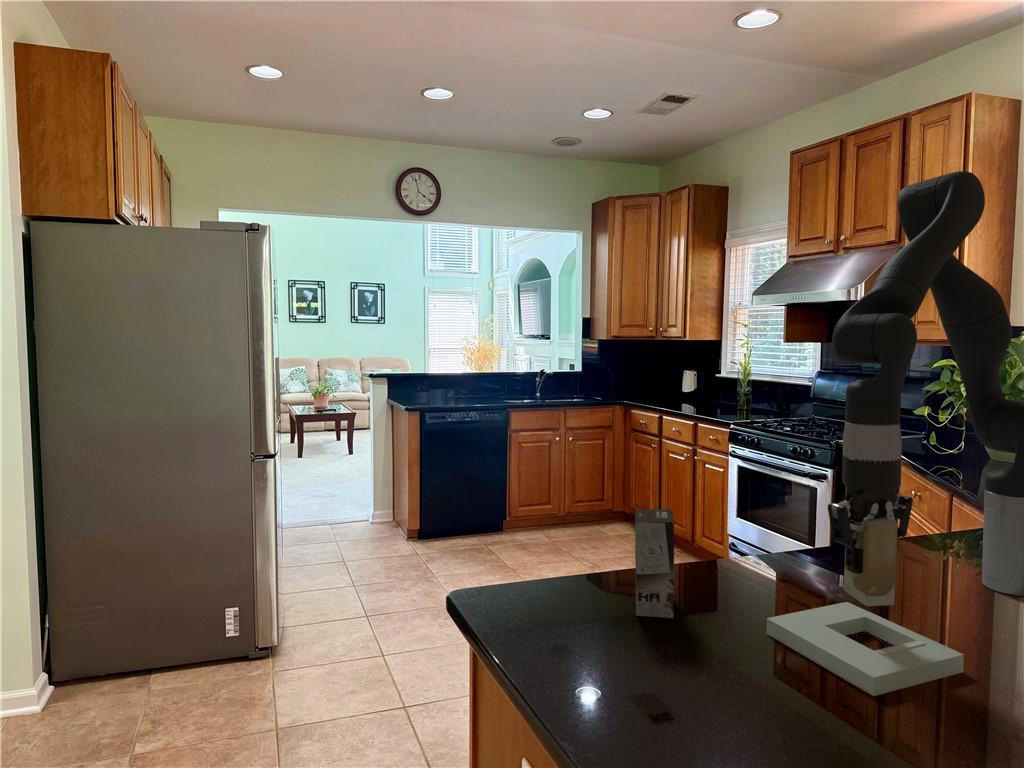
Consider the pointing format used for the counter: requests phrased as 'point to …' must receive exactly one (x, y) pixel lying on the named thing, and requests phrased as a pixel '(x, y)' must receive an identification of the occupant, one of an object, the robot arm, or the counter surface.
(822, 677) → the counter surface
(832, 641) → the socket board
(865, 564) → the skincare box
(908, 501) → the robot arm
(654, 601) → the coffee box
